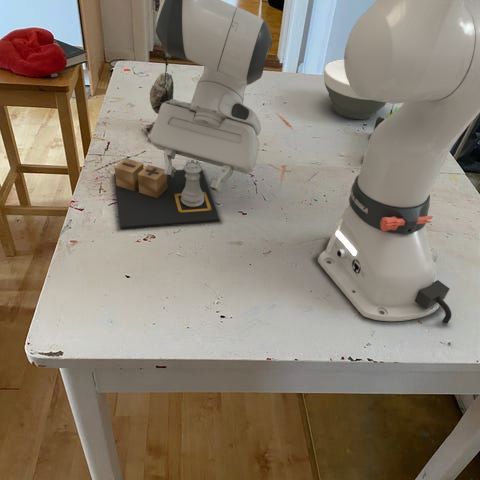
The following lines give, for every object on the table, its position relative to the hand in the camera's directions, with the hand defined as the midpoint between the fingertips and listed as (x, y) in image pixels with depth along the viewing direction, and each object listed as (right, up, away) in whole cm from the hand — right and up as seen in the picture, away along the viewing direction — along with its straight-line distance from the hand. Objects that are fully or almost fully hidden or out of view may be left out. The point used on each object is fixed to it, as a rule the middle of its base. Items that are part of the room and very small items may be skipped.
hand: (191, 183), depth 87 cm
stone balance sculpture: (-9, +18, +23) cm, 31 cm away
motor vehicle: (+45, +14, +25) cm, 53 cm away
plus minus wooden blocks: (-10, +1, +6) cm, 12 cm away
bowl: (+39, +31, +40) cm, 64 cm away
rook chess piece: (0, -3, +4) cm, 5 cm away
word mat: (-6, -1, +5) cm, 8 cm away
